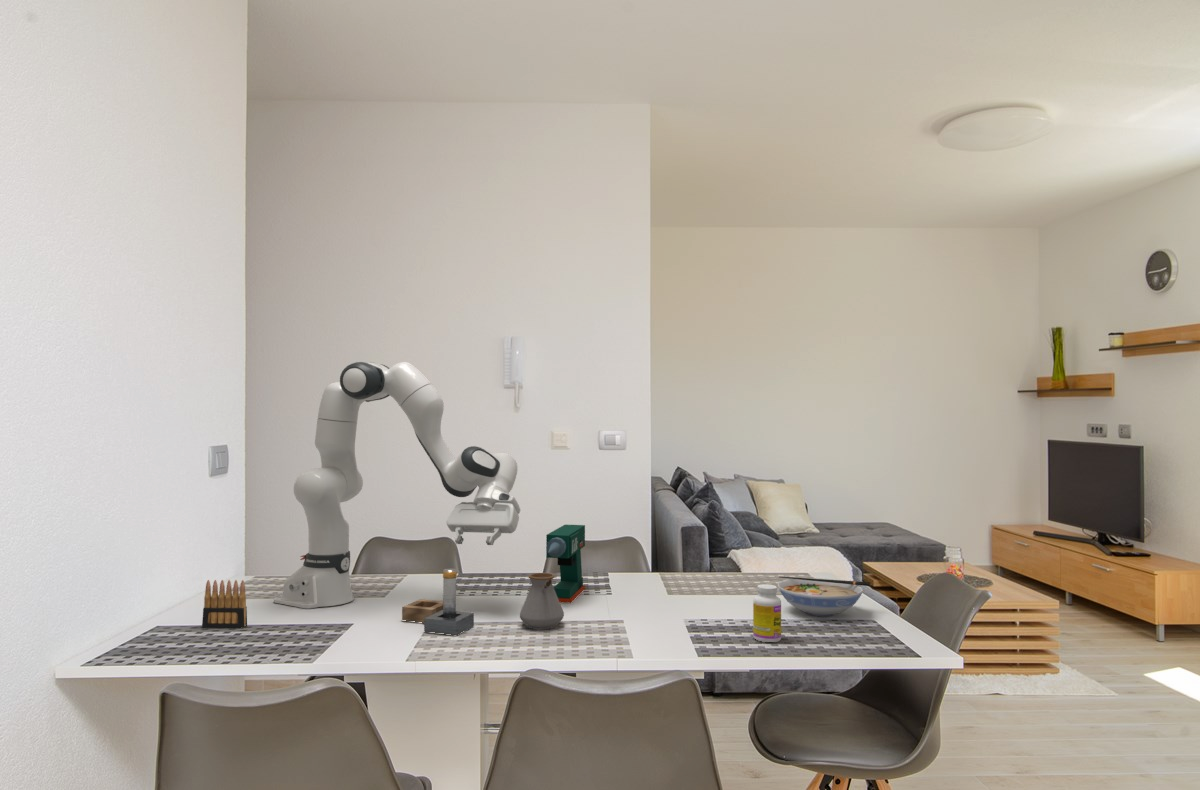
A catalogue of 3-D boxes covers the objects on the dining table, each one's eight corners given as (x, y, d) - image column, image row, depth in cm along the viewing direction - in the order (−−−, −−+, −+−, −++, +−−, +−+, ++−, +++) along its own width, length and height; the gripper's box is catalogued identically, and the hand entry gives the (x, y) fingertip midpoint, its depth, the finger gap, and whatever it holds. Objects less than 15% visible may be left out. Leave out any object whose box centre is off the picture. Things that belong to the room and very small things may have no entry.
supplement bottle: (775, 645, 178) (775, 590, 178) (749, 640, 182) (749, 587, 182) (785, 638, 184) (784, 585, 184) (759, 634, 187) (758, 582, 188)
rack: (402, 621, 197) (402, 606, 198) (420, 613, 206) (420, 599, 206) (432, 624, 195) (432, 609, 195) (449, 615, 203) (449, 601, 203)
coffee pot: (517, 620, 199) (517, 563, 199) (560, 618, 201) (560, 562, 201) (525, 644, 178) (526, 580, 178) (573, 642, 180) (573, 578, 181)
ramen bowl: (764, 617, 203) (764, 587, 203) (782, 599, 223) (782, 571, 223) (862, 629, 192) (862, 597, 192) (871, 609, 212) (871, 579, 213)
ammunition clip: (247, 626, 193) (248, 579, 193) (243, 628, 191) (244, 580, 191) (205, 626, 193) (206, 578, 193) (201, 628, 191) (202, 580, 191)
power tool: (561, 615, 205) (561, 541, 205) (536, 613, 206) (536, 540, 207) (586, 589, 236) (587, 525, 237) (565, 587, 237) (565, 524, 238)
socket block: (424, 632, 187) (424, 618, 187) (442, 623, 196) (443, 609, 196) (456, 636, 184) (456, 621, 185) (473, 626, 193) (473, 612, 193)
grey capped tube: (439, 630, 189) (440, 570, 190) (446, 627, 192) (447, 568, 193) (451, 631, 188) (452, 571, 188) (458, 628, 191) (459, 569, 192)
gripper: (453, 495, 213) (435, 535, 204) (518, 495, 206) (503, 537, 197) (461, 509, 217) (444, 549, 208) (525, 510, 210) (511, 551, 201)
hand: (473, 543), depth 202 cm, fingers open, 8 cm apart
